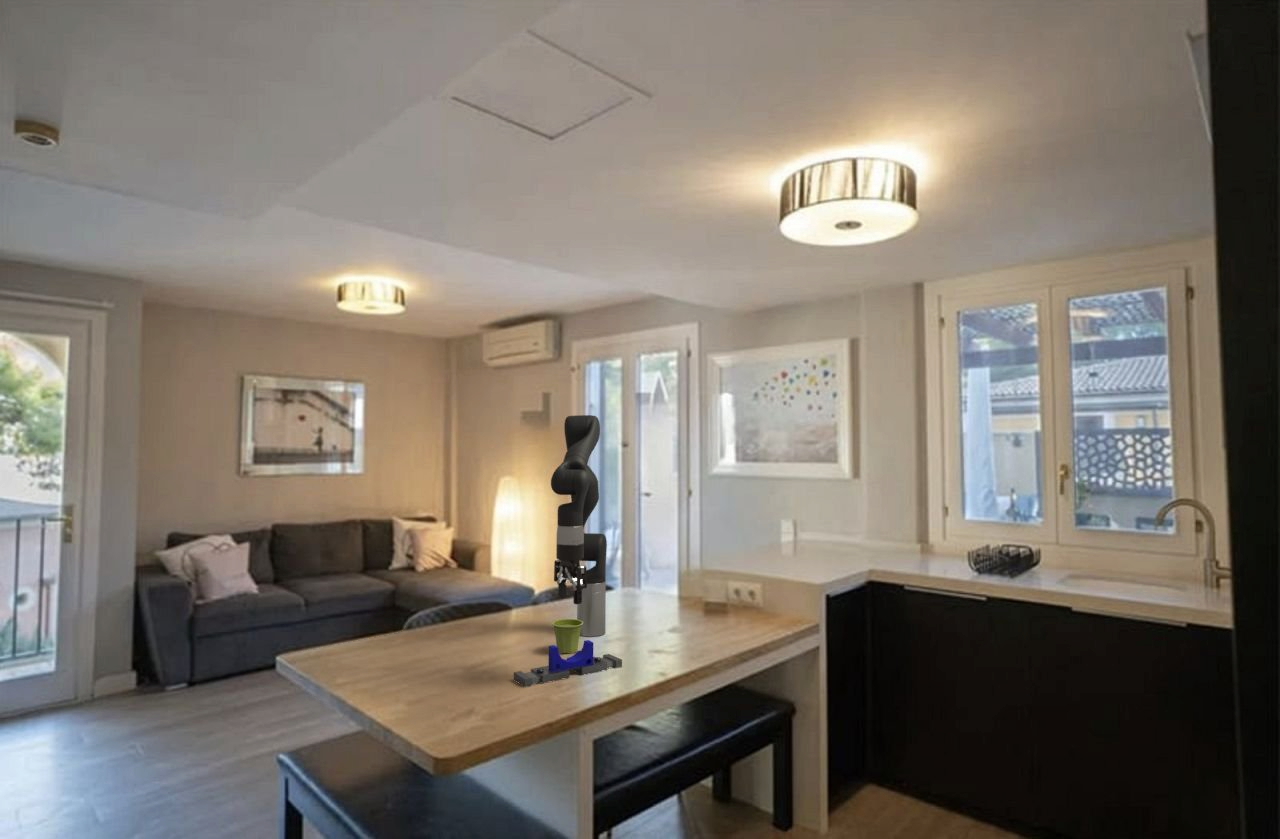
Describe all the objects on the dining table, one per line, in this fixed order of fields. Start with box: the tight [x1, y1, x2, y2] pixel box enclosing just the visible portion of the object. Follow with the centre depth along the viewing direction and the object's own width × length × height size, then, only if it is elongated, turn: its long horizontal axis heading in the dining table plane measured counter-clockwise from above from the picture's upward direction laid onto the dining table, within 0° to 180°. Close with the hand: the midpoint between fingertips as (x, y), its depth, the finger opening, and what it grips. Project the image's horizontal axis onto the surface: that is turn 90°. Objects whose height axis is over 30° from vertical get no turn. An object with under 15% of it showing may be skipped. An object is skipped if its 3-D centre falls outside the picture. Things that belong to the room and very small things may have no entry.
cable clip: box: [548, 639, 594, 671], centre depth 191 cm, size 12×4×6 cm, turn 119°
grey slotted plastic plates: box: [513, 653, 623, 688], centre depth 191 cm, size 7×30×3 cm, turn 125°
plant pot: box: [552, 618, 583, 655], centre depth 212 cm, size 9×9×9 cm
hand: (569, 601), depth 191 cm, fingers open, 8 cm apart
